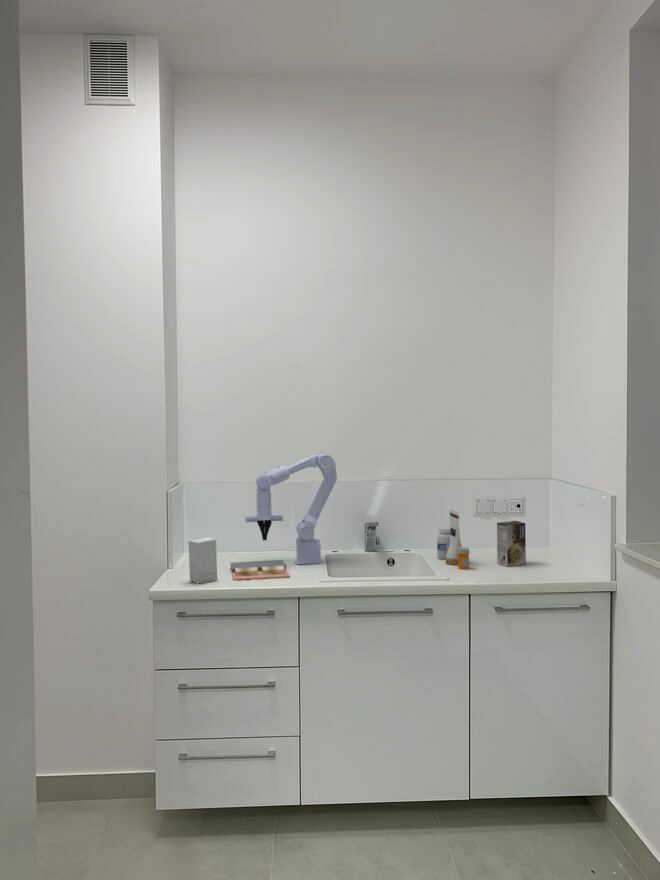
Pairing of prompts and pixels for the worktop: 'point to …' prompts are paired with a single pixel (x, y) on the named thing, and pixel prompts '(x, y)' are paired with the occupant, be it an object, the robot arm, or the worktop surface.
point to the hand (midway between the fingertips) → (264, 539)
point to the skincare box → (202, 560)
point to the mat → (261, 576)
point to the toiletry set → (452, 544)
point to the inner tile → (273, 570)
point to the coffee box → (511, 543)
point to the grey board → (257, 564)
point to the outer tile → (246, 571)
